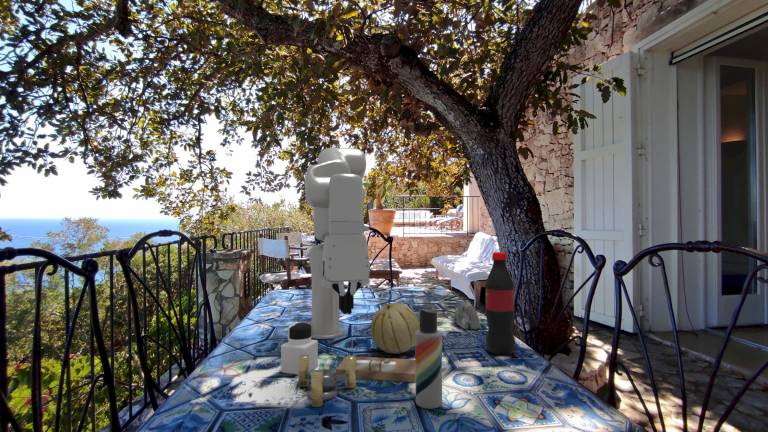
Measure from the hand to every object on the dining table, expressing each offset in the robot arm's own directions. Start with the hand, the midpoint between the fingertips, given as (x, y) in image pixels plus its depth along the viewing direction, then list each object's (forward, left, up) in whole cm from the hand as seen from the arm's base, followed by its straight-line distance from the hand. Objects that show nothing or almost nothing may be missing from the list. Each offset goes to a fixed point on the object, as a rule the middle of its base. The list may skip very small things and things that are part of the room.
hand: (346, 312), depth 87 cm
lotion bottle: (+18, +1, -19) cm, 26 cm away
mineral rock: (+28, +68, -19) cm, 76 cm away
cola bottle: (+37, +38, -19) cm, 56 cm away
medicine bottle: (-17, +15, -19) cm, 30 cm away
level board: (+4, +16, -19) cm, 25 cm away
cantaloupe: (+6, +33, -19) cm, 38 cm away
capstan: (-6, +1, -19) cm, 20 cm away
